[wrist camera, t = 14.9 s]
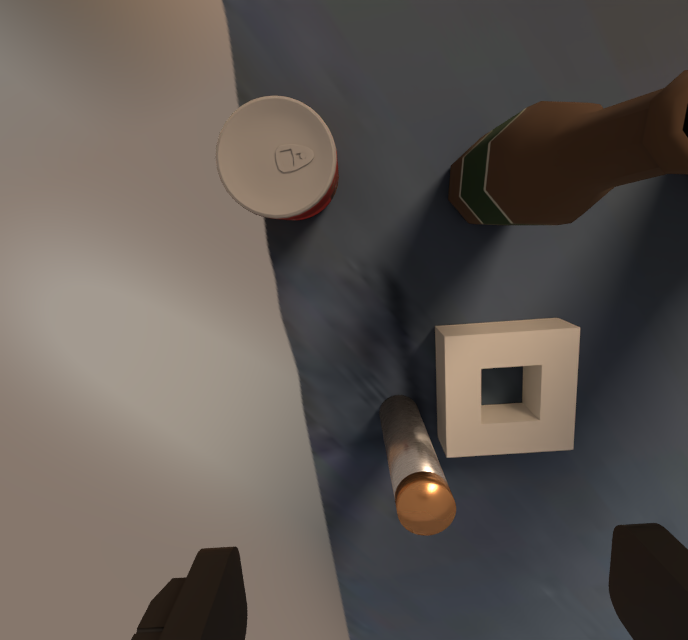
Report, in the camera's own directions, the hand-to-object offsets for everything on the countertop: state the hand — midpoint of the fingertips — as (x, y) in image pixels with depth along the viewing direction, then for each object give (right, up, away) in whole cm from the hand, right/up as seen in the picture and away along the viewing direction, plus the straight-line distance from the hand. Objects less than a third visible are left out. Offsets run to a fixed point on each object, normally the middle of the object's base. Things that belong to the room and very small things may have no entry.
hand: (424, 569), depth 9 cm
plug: (+4, -4, +34) cm, 34 cm away
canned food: (-6, +18, +29) cm, 35 cm away
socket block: (+14, -1, +33) cm, 36 cm away
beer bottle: (+11, +18, +29) cm, 36 cm away
